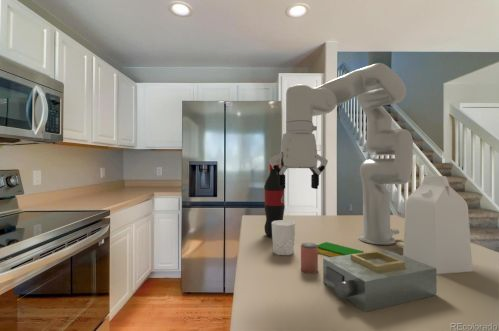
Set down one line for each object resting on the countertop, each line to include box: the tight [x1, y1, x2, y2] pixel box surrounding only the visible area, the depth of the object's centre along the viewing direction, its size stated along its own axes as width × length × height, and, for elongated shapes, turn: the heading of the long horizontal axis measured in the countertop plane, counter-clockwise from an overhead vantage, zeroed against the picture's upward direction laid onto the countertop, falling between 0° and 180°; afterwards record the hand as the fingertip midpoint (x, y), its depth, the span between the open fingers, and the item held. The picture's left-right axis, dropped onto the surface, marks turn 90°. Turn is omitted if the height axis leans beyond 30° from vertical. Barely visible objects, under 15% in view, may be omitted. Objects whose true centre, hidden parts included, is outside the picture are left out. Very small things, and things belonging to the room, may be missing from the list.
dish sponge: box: [316, 241, 364, 257], centre depth 86 cm, size 7×14×2 cm, turn 40°
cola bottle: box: [263, 163, 286, 238], centre depth 109 cm, size 8×8×30 cm
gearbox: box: [322, 249, 438, 313], centre depth 62 cm, size 23×14×7 cm, turn 109°
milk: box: [402, 175, 474, 275], centre depth 77 cm, size 12×12×26 cm
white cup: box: [271, 219, 296, 256], centre depth 88 cm, size 8×8×10 cm
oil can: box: [300, 242, 319, 274], centre depth 73 cm, size 5×5×7 cm
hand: (298, 188), depth 76 cm, fingers open, 9 cm apart
